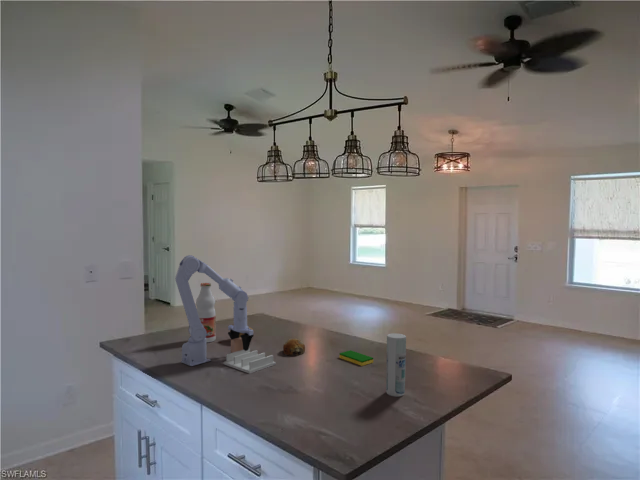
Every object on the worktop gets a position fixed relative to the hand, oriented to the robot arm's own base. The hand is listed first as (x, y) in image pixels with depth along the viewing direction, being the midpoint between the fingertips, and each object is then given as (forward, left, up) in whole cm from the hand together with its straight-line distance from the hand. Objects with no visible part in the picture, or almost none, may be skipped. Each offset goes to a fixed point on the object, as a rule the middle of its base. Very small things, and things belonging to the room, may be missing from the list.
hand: (240, 349), depth 189 cm
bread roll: (+20, -13, -4) cm, 24 cm away
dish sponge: (+30, -40, -4) cm, 50 cm away
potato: (+16, +18, -4) cm, 25 cm away
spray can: (+10, -71, -4) cm, 71 cm away
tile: (0, 0, -3) cm, 3 cm away
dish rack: (-4, -11, -3) cm, 12 cm away
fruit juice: (+5, +32, -4) cm, 33 cm away
